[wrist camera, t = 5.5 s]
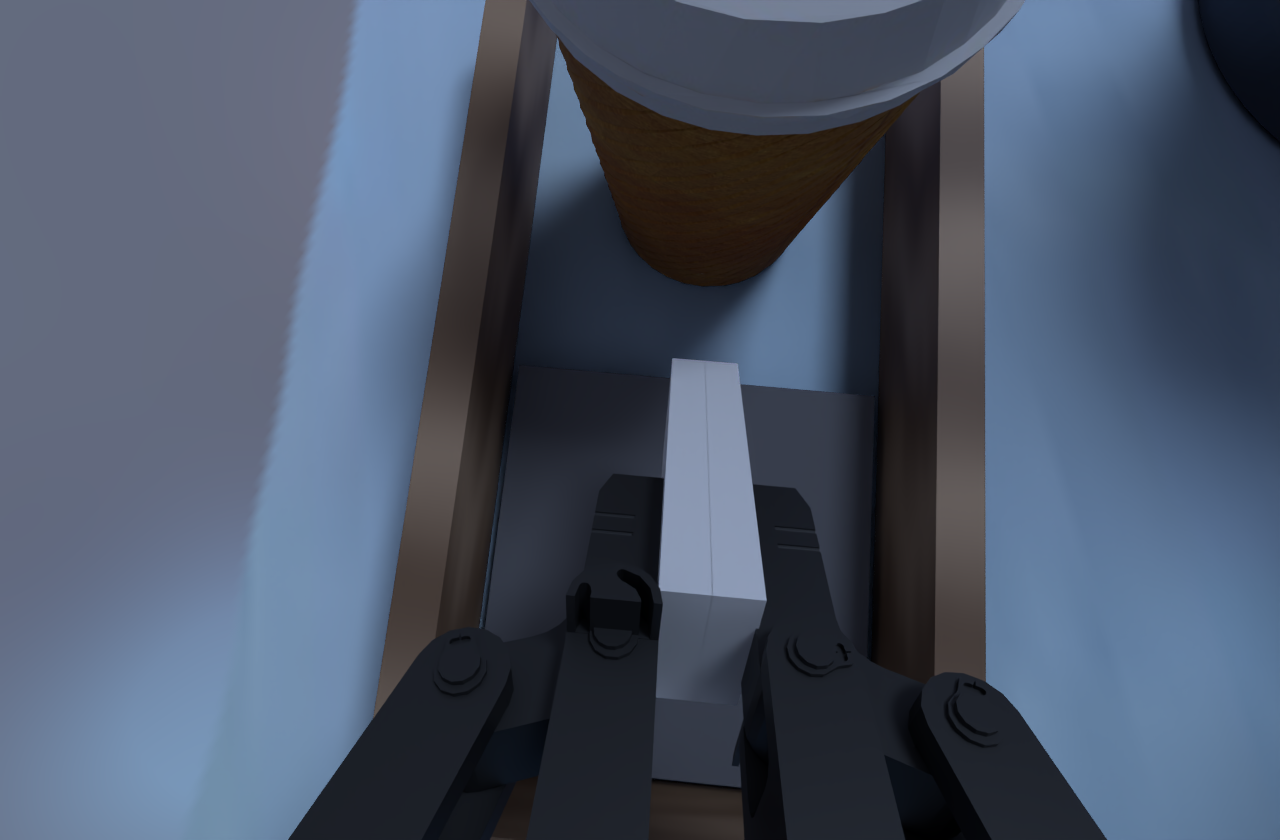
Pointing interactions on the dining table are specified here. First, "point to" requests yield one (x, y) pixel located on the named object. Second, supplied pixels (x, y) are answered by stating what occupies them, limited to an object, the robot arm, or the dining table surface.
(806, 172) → the disposable coffee cup
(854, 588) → the pad
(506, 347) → the walnut channel
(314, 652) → the dining table surface
